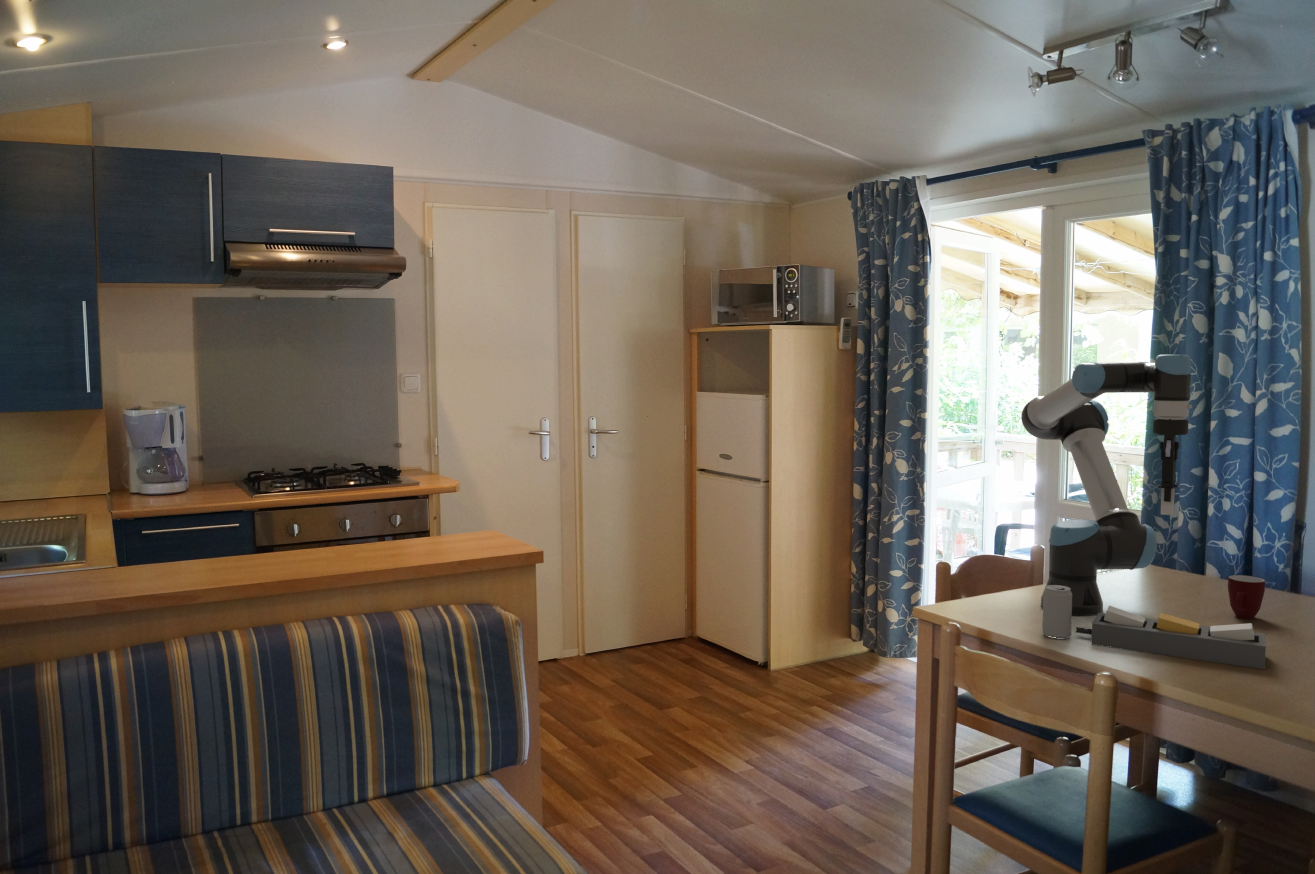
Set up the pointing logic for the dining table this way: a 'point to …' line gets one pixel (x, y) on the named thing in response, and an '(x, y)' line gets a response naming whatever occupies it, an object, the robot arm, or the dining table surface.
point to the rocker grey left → (1123, 617)
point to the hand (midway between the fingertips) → (1167, 514)
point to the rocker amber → (1176, 624)
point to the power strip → (1178, 642)
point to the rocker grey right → (1233, 631)
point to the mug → (1245, 595)
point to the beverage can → (1057, 611)
